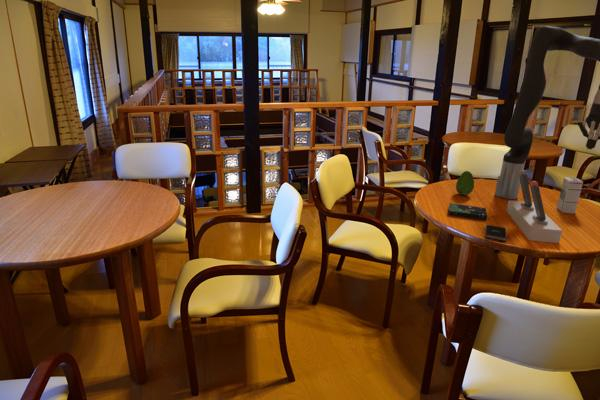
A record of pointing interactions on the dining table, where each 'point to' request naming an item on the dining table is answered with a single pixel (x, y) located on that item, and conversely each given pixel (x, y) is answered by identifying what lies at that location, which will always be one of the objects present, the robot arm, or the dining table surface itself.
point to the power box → (533, 223)
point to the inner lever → (525, 188)
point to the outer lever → (537, 200)
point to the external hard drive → (495, 233)
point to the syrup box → (569, 195)
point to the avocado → (465, 183)
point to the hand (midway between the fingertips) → (589, 148)
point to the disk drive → (467, 211)
